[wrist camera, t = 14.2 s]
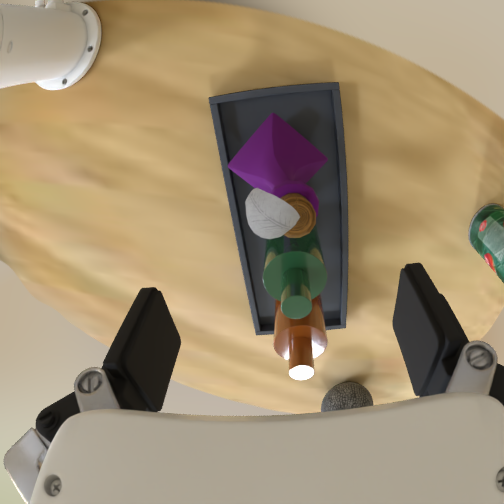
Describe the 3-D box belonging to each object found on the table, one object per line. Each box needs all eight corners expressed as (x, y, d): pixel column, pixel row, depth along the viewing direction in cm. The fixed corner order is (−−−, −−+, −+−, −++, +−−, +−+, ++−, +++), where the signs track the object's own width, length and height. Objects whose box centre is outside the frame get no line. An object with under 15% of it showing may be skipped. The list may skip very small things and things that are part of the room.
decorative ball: (314, 398, 58) (316, 440, 49) (327, 370, 53) (331, 416, 44) (358, 399, 58) (364, 439, 49) (376, 372, 52) (385, 415, 44)
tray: (212, 96, 31) (208, 97, 29) (335, 82, 29) (338, 82, 27) (256, 325, 48) (256, 335, 46) (343, 318, 46) (345, 328, 44)
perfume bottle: (324, 152, 33) (365, 220, 17) (281, 198, 36) (282, 296, 21) (273, 109, 31) (268, 134, 15) (230, 158, 34) (189, 230, 19)
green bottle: (264, 206, 37) (254, 281, 24) (314, 201, 36) (332, 274, 23) (270, 249, 40) (265, 335, 27) (317, 245, 39) (332, 330, 26)
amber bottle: (273, 269, 41) (268, 356, 28) (318, 265, 40) (331, 351, 28) (277, 303, 44) (275, 390, 31) (319, 299, 43) (329, 386, 31)
